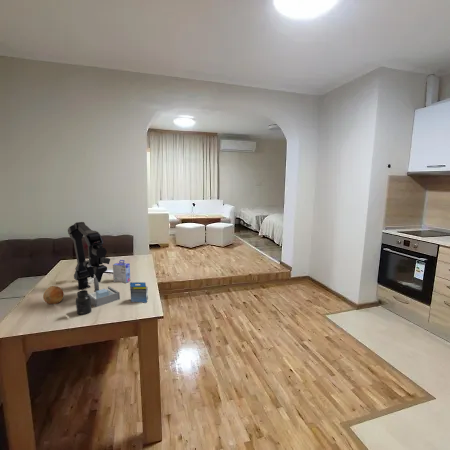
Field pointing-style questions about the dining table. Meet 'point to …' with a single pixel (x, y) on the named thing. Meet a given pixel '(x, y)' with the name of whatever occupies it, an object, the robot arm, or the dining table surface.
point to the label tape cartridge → (139, 292)
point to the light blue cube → (101, 293)
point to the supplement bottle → (83, 303)
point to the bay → (105, 298)
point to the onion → (53, 295)
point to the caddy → (96, 287)
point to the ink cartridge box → (121, 272)
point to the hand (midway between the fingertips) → (96, 280)
